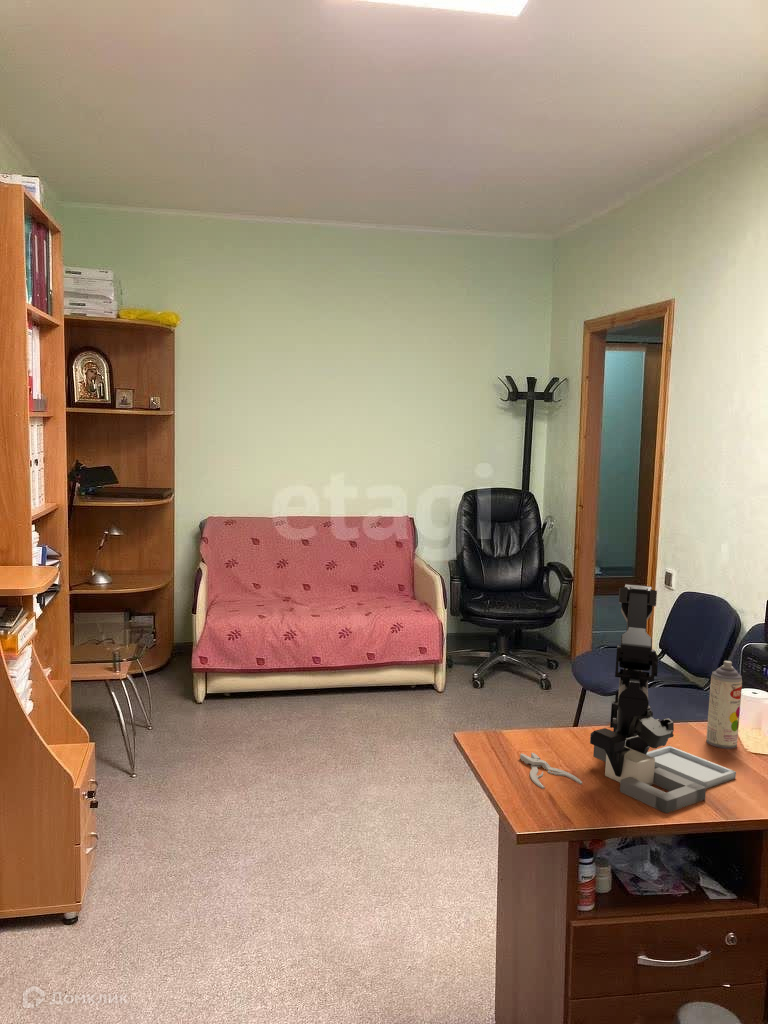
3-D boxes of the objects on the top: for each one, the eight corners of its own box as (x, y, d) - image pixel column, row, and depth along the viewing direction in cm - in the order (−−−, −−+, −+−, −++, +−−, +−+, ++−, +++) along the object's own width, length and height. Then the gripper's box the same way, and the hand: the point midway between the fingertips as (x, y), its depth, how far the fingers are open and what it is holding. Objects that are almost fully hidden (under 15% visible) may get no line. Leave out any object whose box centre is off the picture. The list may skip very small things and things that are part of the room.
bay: (619, 791, 163) (620, 779, 163) (658, 779, 170) (659, 767, 170) (666, 813, 154) (667, 801, 154) (705, 799, 161) (705, 787, 161)
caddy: (586, 767, 174) (588, 742, 174) (603, 762, 178) (605, 738, 177) (635, 789, 164) (637, 763, 163) (653, 784, 167) (655, 758, 167)
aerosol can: (730, 751, 188) (737, 667, 186) (701, 742, 192) (708, 661, 191) (741, 743, 193) (747, 662, 191) (712, 735, 197) (718, 656, 196)
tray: (637, 761, 179) (638, 754, 179) (669, 751, 186) (669, 745, 186) (704, 789, 166) (704, 782, 166) (735, 778, 172) (735, 771, 172)
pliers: (541, 782, 163) (506, 754, 177) (541, 790, 163) (506, 761, 177) (583, 778, 166) (546, 750, 180) (583, 785, 166) (545, 757, 180)
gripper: (635, 720, 156) (629, 797, 157) (693, 705, 166) (687, 778, 168) (590, 703, 165) (585, 777, 166) (648, 690, 175) (643, 759, 177)
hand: (627, 773), depth 169 cm, fingers closed on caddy, 6 cm apart
